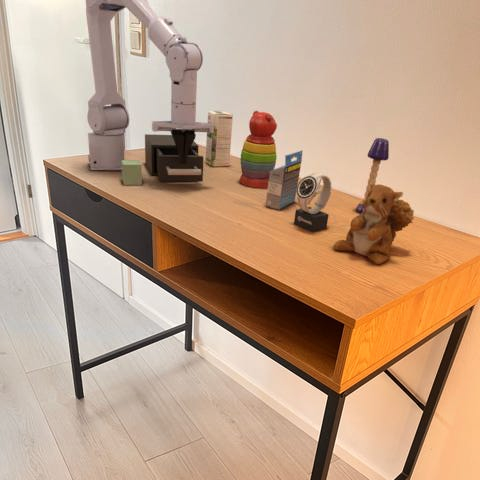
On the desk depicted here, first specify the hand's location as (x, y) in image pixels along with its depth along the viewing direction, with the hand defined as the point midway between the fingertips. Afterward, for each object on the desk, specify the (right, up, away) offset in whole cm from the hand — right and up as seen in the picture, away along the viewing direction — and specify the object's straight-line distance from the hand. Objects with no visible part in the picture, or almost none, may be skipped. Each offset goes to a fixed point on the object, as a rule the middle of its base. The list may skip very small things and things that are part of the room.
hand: (182, 162), depth 120 cm
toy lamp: (+44, -13, -3) cm, 46 cm away
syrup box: (+7, +8, +26) cm, 28 cm away
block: (-13, -4, +3) cm, 14 cm away
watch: (+29, -19, -15) cm, 38 cm away
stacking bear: (+19, -2, +12) cm, 22 cm away
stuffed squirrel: (+40, -25, -24) cm, 53 cm away
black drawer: (-2, -2, +7) cm, 7 cm away
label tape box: (+24, -11, -3) cm, 27 cm away
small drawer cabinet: (-5, +4, +17) cm, 18 cm away
